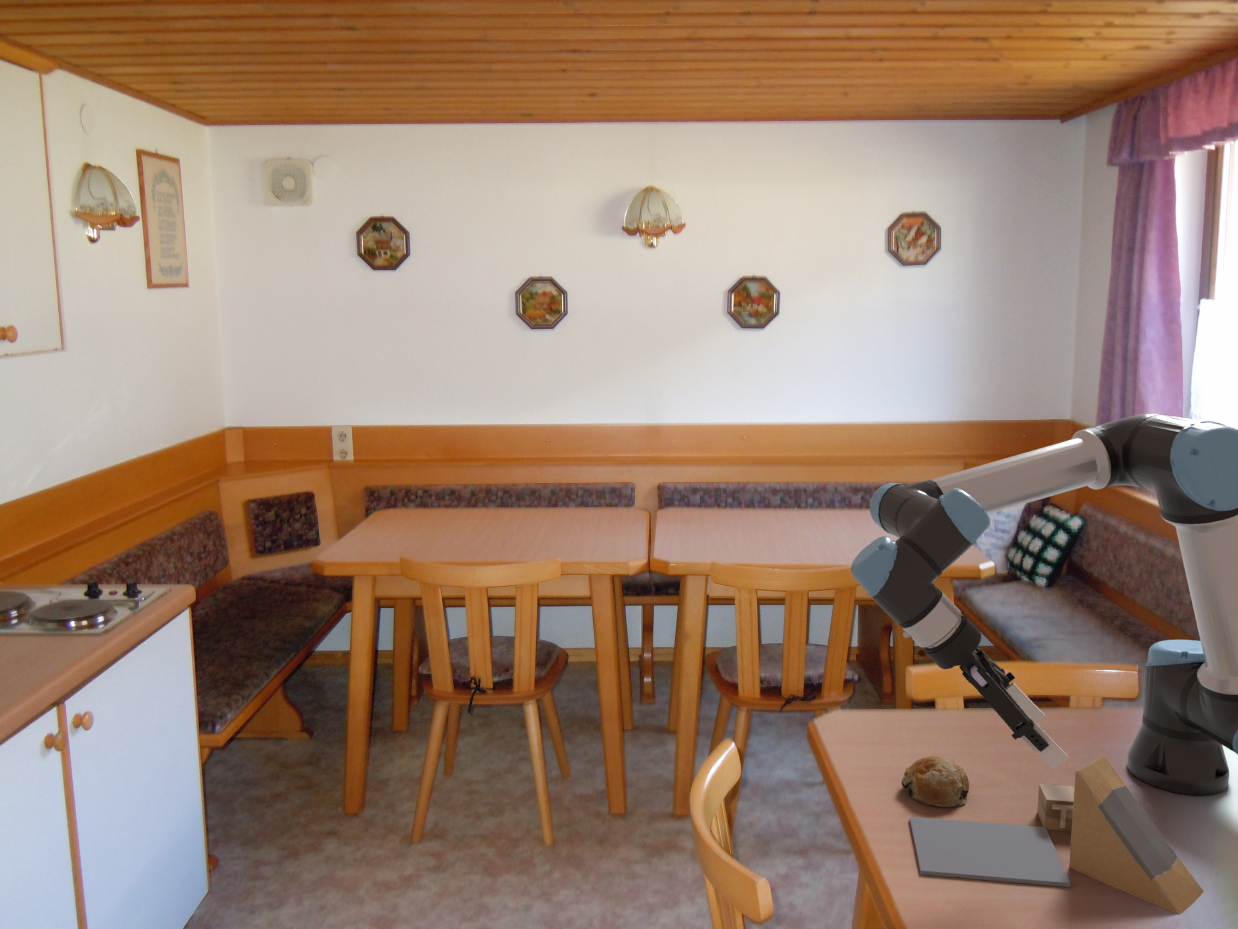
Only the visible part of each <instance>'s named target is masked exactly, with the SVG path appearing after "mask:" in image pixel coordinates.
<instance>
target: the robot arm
mask: <svg viewBox="0 0 1238 929" xmlns="http://www.w3.org/2000/svg"><path fill="white" fill-rule="evenodd" d="M1112 486H1113V487H1115V486H1130V487H1138V488H1142V489H1145V490H1148V491H1151V492H1154V493H1155V495H1156V499H1157V503H1158V508H1159V511H1160V516H1161V518H1162V520H1164V521H1165V522H1166V523H1168V524H1170V525H1172V526H1174V527H1175V530H1176V536H1177V540H1178V544H1179V550H1180V553H1181V559H1182V562H1183V567H1184V571H1185V576H1186V581H1187V585H1188V589H1189V590H1188V591H1189V594H1190V599H1191V602H1192V603H1191V604H1192V609H1193V612H1194V618H1195V622H1196V627H1197V631H1198V635H1199V640H1195V639H1194V640H1191V639H1167V640H1161V641H1157V642H1155V643H1153V644H1152V645H1151V646H1150V647H1149V649H1148V654H1147V660H1146V662H1145V679H1144V692H1143V708H1142V719H1141V720H1142V721H1141V725H1140V727H1139V729H1138V732H1137V734H1136V735H1135V738H1134V739H1133V741H1132V744H1131V746H1130V748H1129V749H1128V752H1127V762H1126V767H1127V769H1128V771H1129V772H1130V773H1131V774H1132V775H1133V776H1134V777H1136V778H1137V779H1138V780H1139V781H1142V782H1143V783H1145V784H1148V785H1150V786H1152V787H1155V788H1158V789H1161V790H1164V791H1168V792H1172V793H1176V794H1177V793H1178V794H1183V795H1189V796H1190V795H1191V796H1209V795H1216V794H1220V793H1222V792H1224V791H1225V790H1227V788H1228V786H1229V781H1230V780H1229V779H1230V769H1229V768H1230V767H1229V765H1228V761H1227V758H1226V754H1225V751H1224V750H1225V749H1224V747H1225V748H1227V749H1228V750H1230V751H1231V752H1233V753H1235V754H1236V755H1238V429H1237V428H1234V427H1231V426H1227V425H1225V424H1223V423H1221V422H1216V421H1211V420H1198V419H1193V418H1192V419H1191V418H1184V417H1180V416H1175V415H1169V414H1165V413H1164V414H1163V413H1157V412H1155V413H1143V414H1136V415H1131V416H1127V417H1122V418H1119V419H1114V420H1111V421H1109V422H1103V423H1102V424H1097V425H1094V426H1091V427H1087V428H1083V429H1080V430H1077V431H1076V432H1075V433H1073V434H1072V437H1071V439H1068V440H1064V441H1062V442H1058V443H1055V444H1051V445H1048V446H1044V447H1040V448H1037V449H1033V450H1031V451H1027V452H1022V453H1020V454H1016V455H1012V456H1009V457H1006V458H1001V459H998V460H996V461H995V460H994V461H991V462H989V463H985V464H981V465H978V466H974V467H971V468H967V469H964V470H960V471H957V472H953V473H950V474H949V473H948V474H946V475H942V476H939V477H935V478H933V479H928V480H924V481H919V482H916V483H913V484H908V485H907V484H904V483H899V482H889V483H886V484H883V485H881V486H880V487H879V488H877V489H875V490H876V491H875V492H874V493H873V494H872V496H871V499H870V503H869V513H870V515H871V518H872V520H873V522H874V523H875V524H876V525H877V526H878V527H879V528H881V529H882V530H883V531H884V532H885V533H887V534H889V535H892V536H895V537H897V539H896V540H892V539H891V538H890V537H888V536H886V535H885V536H879V537H877V538H876V539H874V540H873V541H871V542H870V544H868V545H866V546H865V547H864V548H863V549H862V550H861V551H860V552H859V553H858V554H857V555H856V556H855V558H854V560H853V561H852V563H851V565H850V572H851V573H850V574H851V575H852V577H853V578H854V580H856V582H857V583H858V584H859V585H860V586H861V587H862V588H863V590H864V591H865V592H866V594H867V595H868V596H869V597H870V598H871V599H872V600H873V601H874V602H875V603H877V604H878V606H879V607H880V608H881V609H883V611H884V612H885V613H886V614H887V615H888V616H889V617H890V618H891V619H892V620H894V622H896V624H897V625H898V626H899V627H900V628H902V629H903V631H904V632H903V633H902V634H903V637H904V638H905V639H909V638H910V637H911V638H912V640H913V641H914V642H915V643H916V644H917V645H918V647H920V648H924V653H925V654H926V655H927V656H928V657H929V658H930V659H931V660H932V661H933V662H934V663H935V664H936V665H937V667H938V668H940V669H941V670H949V669H952V668H953V669H954V667H959V669H960V670H961V671H962V672H961V674H962V676H963V677H964V678H965V680H966V681H968V683H969V684H971V685H972V686H973V687H974V689H976V690H977V691H978V693H979V694H980V695H981V696H982V697H983V698H984V700H985V701H986V702H987V703H988V704H989V705H990V706H991V708H992V710H994V711H995V712H996V713H997V716H999V717H1000V718H1001V720H1002V721H1003V722H1004V723H1005V724H1006V725H1007V726H1008V728H1009V729H1010V730H1011V731H1012V732H1013V734H1011V737H1012V739H1014V740H1016V741H1017V739H1022V740H1023V741H1024V743H1026V744H1027V745H1028V746H1029V747H1030V749H1031V750H1033V752H1035V753H1036V754H1037V755H1038V757H1039V758H1040V759H1041V760H1042V761H1043V762H1044V763H1046V765H1047V766H1048V767H1049V768H1050V769H1051V770H1052V771H1054V770H1055V769H1056V768H1057V767H1059V766H1060V765H1061V764H1063V763H1065V761H1067V760H1068V759H1070V757H1069V756H1068V754H1067V753H1066V752H1065V751H1064V749H1062V748H1061V747H1060V746H1059V745H1058V744H1057V743H1056V742H1055V740H1054V739H1053V738H1052V737H1051V736H1050V735H1049V734H1048V733H1047V732H1046V731H1045V730H1044V729H1042V727H1041V725H1039V724H1038V722H1039V721H1041V720H1042V719H1044V717H1046V715H1045V713H1044V712H1043V711H1042V710H1041V709H1040V708H1039V707H1038V706H1037V705H1036V704H1035V703H1034V702H1033V701H1032V700H1031V699H1030V698H1029V697H1028V695H1026V694H1025V693H1024V691H1022V689H1020V687H1018V685H1017V684H1016V683H1014V682H1013V681H1014V679H1016V677H1015V675H1014V674H1013V673H1012V672H1011V671H1009V672H1008V673H1006V672H1005V669H1004V668H1002V667H1000V666H999V665H998V664H997V662H995V661H994V660H993V659H992V658H991V657H989V656H988V654H986V652H985V651H984V650H982V649H980V647H979V645H980V643H981V641H982V633H981V631H980V630H979V629H978V628H977V627H976V626H975V625H974V624H973V622H972V621H971V620H970V619H969V618H968V617H967V616H966V615H962V611H961V610H960V609H959V607H957V605H956V604H954V602H953V601H952V600H951V599H950V598H949V597H948V596H947V595H946V594H945V592H943V591H942V590H940V588H938V587H937V585H936V584H935V581H936V580H938V578H939V577H940V576H942V574H943V573H944V572H945V571H946V570H947V569H948V568H949V567H951V566H952V564H954V563H955V562H956V561H957V560H958V559H959V558H960V557H961V556H963V555H964V554H965V553H966V552H967V550H969V549H970V548H971V547H972V546H973V545H975V544H976V543H977V541H978V540H979V538H981V536H982V535H983V533H984V532H985V531H986V530H987V529H989V527H990V525H991V518H990V516H989V515H990V514H994V513H996V512H997V513H998V512H1001V511H1003V510H1007V509H1011V508H1014V507H1019V506H1021V505H1024V504H1029V503H1033V502H1036V501H1039V500H1043V499H1046V498H1049V497H1052V496H1056V495H1059V494H1063V493H1067V492H1071V491H1073V490H1078V489H1080V488H1084V487H1088V488H1089V489H1092V490H1101V489H1104V488H1108V487H1112Z"/></svg>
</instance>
